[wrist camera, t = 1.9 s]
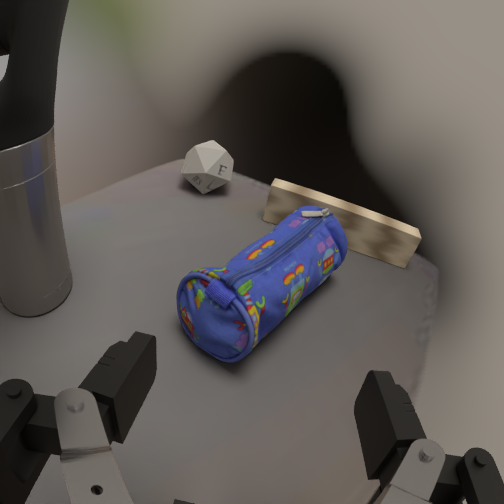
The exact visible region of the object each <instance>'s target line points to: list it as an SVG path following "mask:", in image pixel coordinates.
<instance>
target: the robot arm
mask: <svg viewBox="0 0 504 504" xmlns="http://www.w3.org/2000/svg"><path fill="white" fill-rule="evenodd" d="M68 2H69V0H0V56H3V55H8V54H9V59H8V65H7V69H6V73H5V75H4V77H3V79H2V80H1V81H0V297H1V300H2V302H3V304H4V305H5V307H6V308H7V309H8V310H9V311H11V312H12V313H15V314H17V315H21V316H37V315H41V314H44V313H46V312H49V311H51V310H52V309H54V308H55V307H57V306H58V305H59V304H60V303H62V302H63V301H64V299H65V298H66V297H67V295H68V294H69V292H70V289H71V286H72V274H71V269H70V264H69V259H68V254H67V248H66V242H65V236H64V230H63V224H62V217H61V210H60V202H59V193H58V184H57V174H56V159H55V143H54V102H55V91H56V79H57V78H56V77H57V65H58V55H59V48H60V41H61V36H62V29H63V25H64V20H65V16H66V11H67V7H68ZM156 370H157V362H156V337H155V336H153V335H149V334H145V333H141V332H137V331H136V332H134V334H133V335H132V336H131V338H130V339H129V340H128V342H123V341H119V342H117V343H116V344H114V345H112V346H110V347H109V348H108V350H107V351H106V352H105V353H104V355H103V357H101V358H100V360H99V361H98V364H96V365H95V366H94V367H93V369H92V370H91V371H90V373H89V374H88V375H87V376H86V378H85V379H84V380H83V382H82V383H81V384H80V386H79V387H78V388H69V389H66V390H64V391H62V392H60V393H59V394H58V395H57V396H56V397H54V396H46V395H40V394H34V392H33V389H32V387H31V385H30V384H29V383H28V382H26V381H24V380H21V379H11V380H7V381H5V382H4V383H2V384H1V385H0V504H25V502H26V500H27V498H28V496H29V494H30V492H31V490H32V488H33V486H34V484H35V482H36V480H37V479H38V477H39V475H40V473H41V471H42V469H43V467H44V466H45V464H46V462H47V460H48V458H49V456H50V455H51V454H54V455H60V460H61V465H62V469H63V474H64V478H65V482H66V486H67V489H68V493H69V497H70V500H71V504H134V503H133V501H132V499H131V497H130V494H129V492H128V490H127V487H126V485H125V483H124V480H123V478H122V475H121V473H120V470H119V468H118V465H117V462H116V460H115V457H114V454H113V451H112V449H111V447H110V445H111V443H112V441H115V442H118V443H121V444H123V442H124V440H125V438H126V436H127V434H128V432H129V430H130V428H131V426H132V424H133V422H134V420H135V418H136V416H137V414H138V412H139V410H140V408H141V406H142V404H143V402H144V400H145V398H146V396H147V394H148V392H149V390H150V388H151V386H152V385H153V382H154V380H155V376H156ZM354 415H355V420H356V424H357V429H358V433H359V438H360V442H361V447H362V452H363V457H364V462H365V467H366V472H367V477H368V480H373V479H379V480H380V485H379V486H378V487H377V489H376V490H375V492H374V493H373V495H372V496H371V498H370V499H369V501H368V502H367V504H463V503H462V501H463V500H464V499H466V501H467V504H504V483H503V481H502V478H501V476H500V473H499V471H498V468H497V466H496V464H495V461H494V459H493V457H492V456H491V454H489V452H487V451H486V450H484V449H482V448H471V449H470V450H468V451H467V452H466V454H465V455H464V456H463V457H460V456H453V455H447V454H445V453H444V450H443V448H442V447H441V446H440V445H439V444H438V443H436V442H435V441H433V440H429V439H427V438H426V435H425V433H424V431H423V428H422V426H421V423H420V421H419V418H418V416H417V414H416V413H415V409H414V407H413V405H412V402H411V400H410V397H409V395H408V393H407V392H406V391H405V390H404V389H403V388H402V387H401V386H400V385H395V382H394V380H393V378H392V375H391V373H390V372H389V371H374V370H371V371H369V372H368V374H367V376H366V379H365V381H364V383H363V385H362V388H361V390H360V392H359V394H358V396H357V398H356V401H355V406H354ZM173 504H194V503H189V502H185V501H181V500H176V499H175V500H174V503H173Z"/></svg>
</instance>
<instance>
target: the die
mask: <svg viewBox="0 0 504 504" xmlns="http://www.w3.org/2000/svg"><path fill="white" fill-rule="evenodd" d="M233 162H234V160H233V159H232V157H231V156H230V155H229V154H228V152H227V151H226V150H225V149H224V148H222V147H221V146H220V145H219V144H218V143H216V142H215V141H214V140H212V141H208V142H205V143H202V144H199V145H196V146H194V147H193V148H192V149H191V150H190V151H189V152H188V153H187V155H186V158H185V161H184V165H183V168H182V171H181V174H182V175H183V176H184V177H185V178H186V179H187V180H188V181H189V182H190V183H191V184H192V185H194V186H195V187H196V188H197V189H198V190H199V191H200V192H201V193H202V194H205V193H207V192H209V191H211V190H213V189H215V188H217V187H220V186H222V185H224V184H226V183H228V182H230V181H231V176H232V169H233Z"/></svg>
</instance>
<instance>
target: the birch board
mask: <svg viewBox="0 0 504 504" xmlns="http://www.w3.org/2000/svg"><path fill="white" fill-rule="evenodd" d="M306 205H307V206H317V207H321V208H325V209H327V208H328V209H329V212H332V213H333V215H334V217H336V218H337V219H338V221H339V223H340V225H341V226H342V228H343V230H344V232H345V235H346V238H347V248H348V249H350V250H353V251H356V252H359V253H362V254H365V255H368V256H370V257H373V258H376V259H379V260H382V261H385V262H387V263H390V264H393V265H396V266H398V267H401V268H404V269H405V267H406V265H407V264H408V262H409V260H410V259H411V257H412V255H413V253H414V251H415V250H416V248H417V246H418V244H419V242H420V241H421V236H420V233H419V230H418V229H417V228H414V227H412V226H410V225H407V224H405V223H402V222H399V221H397V220H394V219H392V218H389V217H386V216H384V215H381V214H379V213H376V212H373V211H370V210H368V209H365V208H363V207H360V206H357V205H354V204H352V203H349V202H346V201H343V200H340V199H337V198H335V197H331V196H329V195H325V194H323V193H320V192H317V191H314V190H311V189H308V188H305V187H302V186H299V185H295V184H292V183H289V182H286V181H283V180H280V179H277V178H275V180H274V181H273V183H272V185H271V189H270V192H269V196H268V200H267V204H266V207H265V211H264V215H263V219H262V220H264V221H267V222H270V223H273V224H276V225H278V224H279V223H280V222H281V221H283V220H284V219H285V218H286V217H287V216H288V215H290V214H292V213H293V212H294V211H295V210H296V209H298V208H299V207H301V206H306Z"/></svg>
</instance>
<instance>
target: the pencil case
mask: <svg viewBox="0 0 504 504" xmlns="http://www.w3.org/2000/svg"><path fill="white" fill-rule="evenodd" d="M346 253H347V238H346V235H345V232H344V230H343V228H342V226H341V225H340V223H339V221H338V219H337V218H336V217H334V215H333V213H332V212H329V209H328V208H327V209H325V208H321V207H317V206H307V205H306V206H301V207H299V208H298V209H296V210H295V211H294V212H293V213H292V214H290V215H288V216H287V217H286V218H285V219H284V220H283V221H281V222H280V223H279V224H278V225H277V226H276V227H275V228H274V229H273V230H272V231H271V232H270V233H269V234H268V235H266V236H264V237H263V238H261V239H259V240H257V241H256V242H254V243H253V244H251V245H249V246H248V247H247V248H245V249H244V250H242V251H241V252H240V253H239V254H238V255H237V256H235V257H234V258H233V259H231V260H230V261H229V262H228V263H227V264H226V265H225V267H224V268H200V269H196V270H194V271H191V272H190V273H189V274H188V275H186V276H185V277H184V278H183V279H182V280H181V282H180V284H179V287H178V291H177V310H178V315H179V318H180V321H181V324H182V326H183V328H184V330H185V331H186V333H187V334H188V335H189V337H190V338H191V339H192V341H193V342H194V343H195V344H196V345H197V346H198V347H200V348H201V349H203V350H204V351H205V352H207V353H209V354H210V355H212V356H213V357H215V358H216V359H218V360H221V361H223V362H228V363H234V362H237V361H240V360H241V359H243V358H244V357H246V356H247V355H248V354H249V353H250V352H251V351H252V350H253V348H254V347H255V346H256V345H257V344H258V343H259V342H260V340H261V339H262V338H264V337H265V336H266V335H267V334H268V333H269V332H271V331H272V330H273V329H274V328H275V327H276V326H277V325H278V324H279V323H280V322H281V321H282V320H283V319H284V318H285V317H286V316H287V315H288V314H289V313H290V312H291V311H292V310H293V309H294V308H295V307H296V306H297V305H298V304H299V303H300V302H301V300H302V299H303V298H305V297H306V296H307V295H309V294H310V293H311V292H312V291H313V290H315V289H316V288H317V287H318V286H320V285H321V284H322V283H323V282H324V281H325V280H326V279H327V277H328V276H329V275H330V274H331V273H332V271H334V270H336V269H337V268H338V267H339V266H340V265H341V264H342V262H343V260H344V259H345V256H346Z"/></svg>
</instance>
